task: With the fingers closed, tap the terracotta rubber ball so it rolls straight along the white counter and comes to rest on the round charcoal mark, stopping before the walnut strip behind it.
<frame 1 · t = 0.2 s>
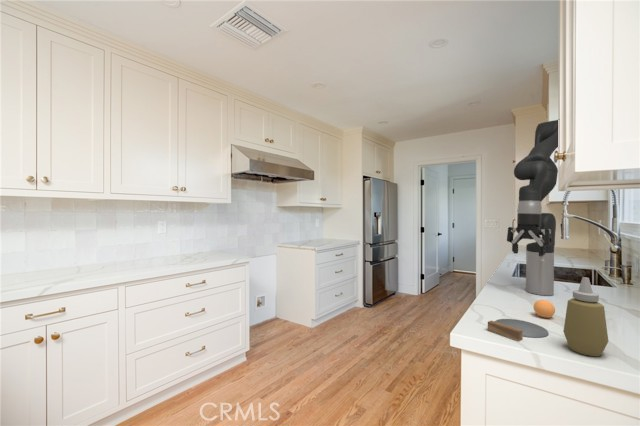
hand: (527, 254, 111), 17 cm above the worktop, tool pointing down, fingers open, 8 cm apart
squeeze bottle: (584, 351, 70), on the worktop
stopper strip: (504, 334, 79), on the worktop
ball: (544, 308, 92), on the worktop
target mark: (520, 327, 84), on the worktop
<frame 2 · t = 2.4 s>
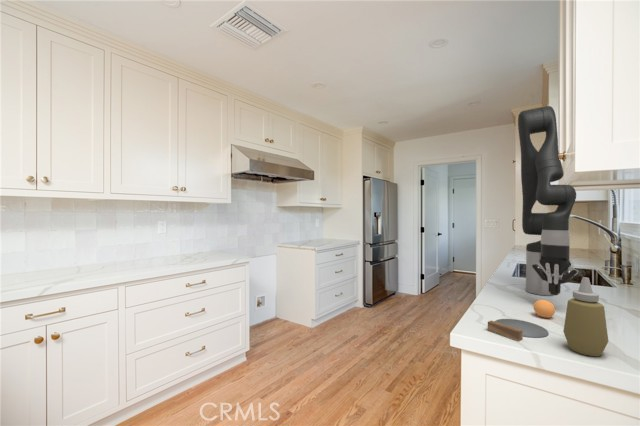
hand: (554, 294, 97), 6 cm above the worktop, tool pointing down, fingers closed
nothing on the worktop moved.
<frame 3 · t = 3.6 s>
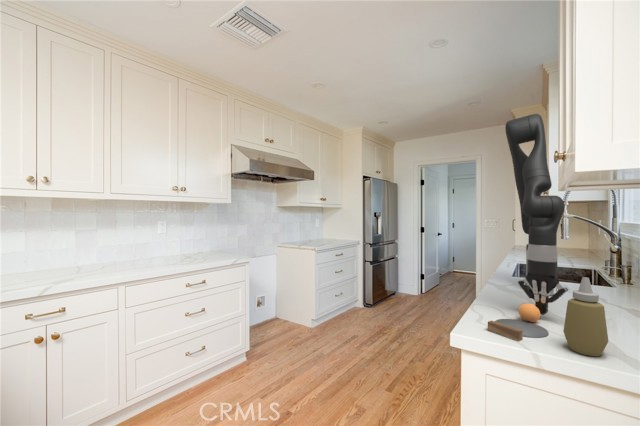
hand: (541, 313, 90), 2 cm above the worktop, tool pointing down, fingers closed
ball: (529, 312, 89), on the worktop
everything else where it was.
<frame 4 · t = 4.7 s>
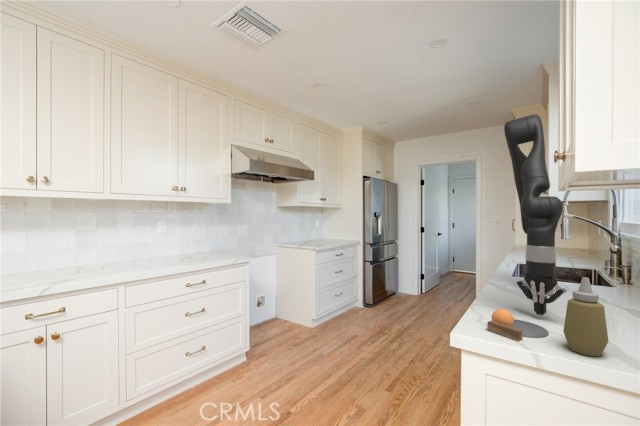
hand: (539, 314, 91), 2 cm above the worktop, tool pointing down, fingers closed
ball: (502, 319, 83), on the worktop
everything else where it was.
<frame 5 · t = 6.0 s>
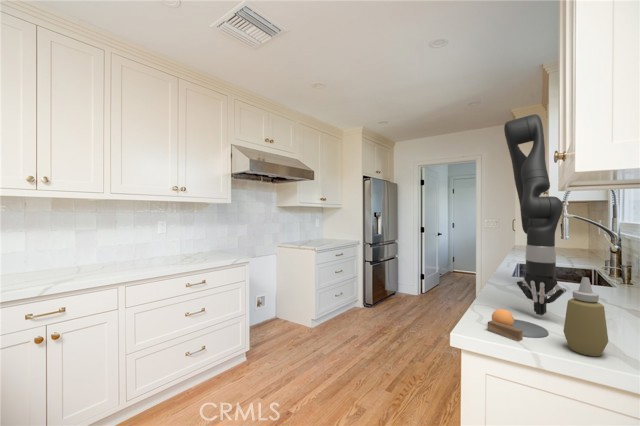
hand: (539, 314, 91), 2 cm above the worktop, tool pointing down, fingers closed
nothing on the worktop moved.
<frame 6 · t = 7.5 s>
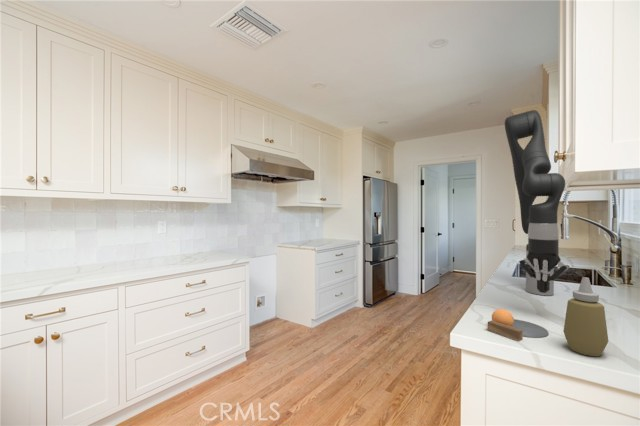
hand: (543, 292, 90), 9 cm above the worktop, tool pointing down, fingers closed
nothing on the worktop moved.
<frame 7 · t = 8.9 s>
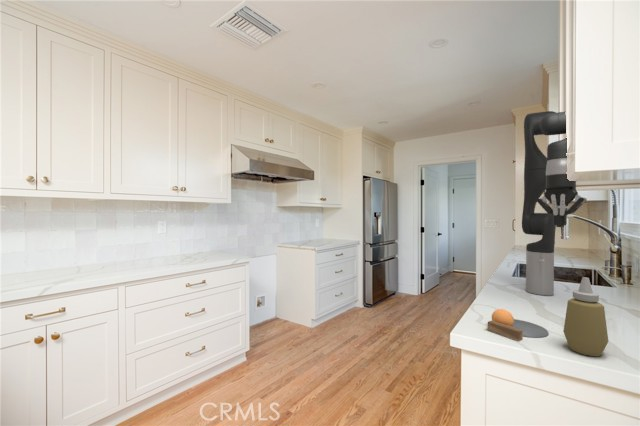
hand: (560, 227, 93), 29 cm above the worktop, tool pointing down, fingers closed
nothing on the worktop moved.
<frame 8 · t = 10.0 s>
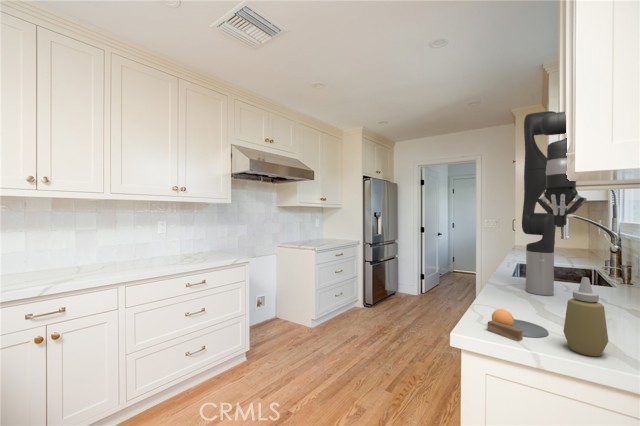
hand: (560, 226, 93), 29 cm above the worktop, tool pointing down, fingers closed
nothing on the worktop moved.
at the end: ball 5.4 cm from the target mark (horizontally); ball at rest at the end (0.0 cm/s); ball moved 21.0 cm from its start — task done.
